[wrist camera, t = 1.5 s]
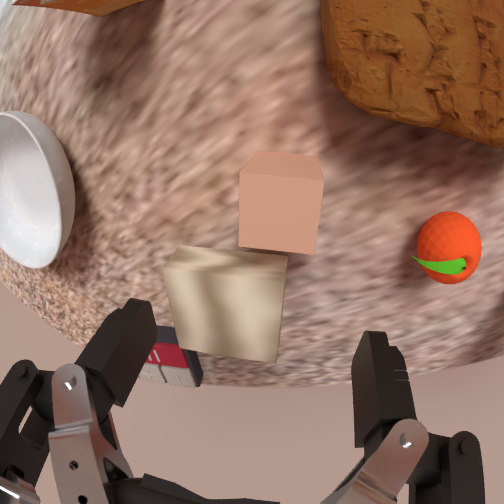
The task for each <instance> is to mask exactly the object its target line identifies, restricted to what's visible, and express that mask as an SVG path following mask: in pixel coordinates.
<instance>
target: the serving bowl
mask: <svg viewBox="0 0 504 504" xmlns="http://www.w3.org/2000/svg"><path fill="white" fill-rule="evenodd" d="M74 214H75V188H74V182H73V177H72V172H71V169H70V165H69V162H68V159H67V157H66V154H65V152H64V150H63V148H62V146H61V144H60V142H59V140H58V139H57V137H56V136H55V134H54V133H53V132H52V130H51V129H50V128H49V127H48V126H47V125H46V124H45V123H43V122H42V121H41V120H40V119H38V118H37V117H35V116H33V115H31V114H28V113H25V112H20V111H6V112H0V247H1V248H2V249H3V251H4V252H5V253H6V254H7V255H9V256H10V257H11V258H12V259H13V260H15V261H16V262H18V263H19V264H21V265H23V266H26V267H29V268H33V269H40V268H44V267H46V266H48V265H50V264H51V263H52V262H53V261H54V260H55V258H56V257H57V256H58V254H59V253H60V252H61V250H62V249H63V247H64V246H65V244H66V242H67V240H68V237H69V235H70V232H71V229H72V225H73V221H74Z"/></svg>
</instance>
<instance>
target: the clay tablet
mask: <svg viewBox="0 0 504 504" xmlns="http://www.w3.org/2000/svg"><path fill="white" fill-rule="evenodd" d="M320 7H321V9H320V18H321V31H322V34H323V39H324V48H325V56H326V64H327V68H328V70H329V71H330V75H331V78H332V81H333V83H334V85H335V87H336V88H337V89H338V90H339V91H341V92H342V93H343V96H344V97H345V98H346V99H347V100H348V101H350V102H351V103H352V104H354V105H356V106H357V107H359V108H361V109H363V110H365V111H367V112H368V113H369V114H370V115H373V116H376V117H380V118H384V119H389V120H393V121H397V122H402V123H407V124H411V125H415V126H420V127H430V128H437V129H438V130H440V131H444V132H447V133H450V134H453V135H456V136H459V137H463V138H467V139H470V140H474V141H477V142H480V143H483V144H487V145H491V146H495V147H499V148H504V0H321V6H320Z"/></svg>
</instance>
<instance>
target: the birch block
mask: <svg viewBox="0 0 504 504" xmlns="http://www.w3.org/2000/svg"><path fill="white" fill-rule="evenodd" d="M287 260H288V256H286V255H275V254H265V253H254V252H243V251H233V250H222V249H211V248H201V247H190V246H180V245H179V247H178V248H177V249H176V251H175V252H174V253H173V255H172V256H171V257H170V259H169V260H168V261H167V263H166V264H165V265H164V267H163V268H162V269H163V274H164V280H165V285H166V290H167V295H168V299H169V304H170V309H171V313H172V318H173V322H174V327H175V331H176V335H177V339H178V343H179V347H180V348H183V349H188V350H193V351H198V352H204V353H209V354H215V355H221V356H227V357H234V358H241V359H248V360H255V361H263V362H271V363H276V360H277V354H278V347H279V339H280V331H281V322H282V313H283V303H284V293H285V282H286V271H287Z"/></svg>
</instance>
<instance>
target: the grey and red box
mask: <svg viewBox="0 0 504 504" xmlns="http://www.w3.org/2000/svg"><path fill="white" fill-rule="evenodd" d="M156 326H157V325H156ZM202 377H203V372H202V369H201V365H200V362H199V359H198V356H197V353H196V351H193V350H188V349H183V348H180V347H179V343H178V339H177V335H176V331H175V328H172V327H165V326H157V339H156V342H155V345H154V347H153V348H152V350H151V352H150V354H149V356H148V358H147V360H146V362H145V364H144V366H143V368H142V370H141V372H140V374H139V376H138V378H141V379H142V380H147V381H152V382H158V383H168V384H170V385H176V386H183V387H190V388H195V387H199V386H200V384H201V380H202Z"/></svg>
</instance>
